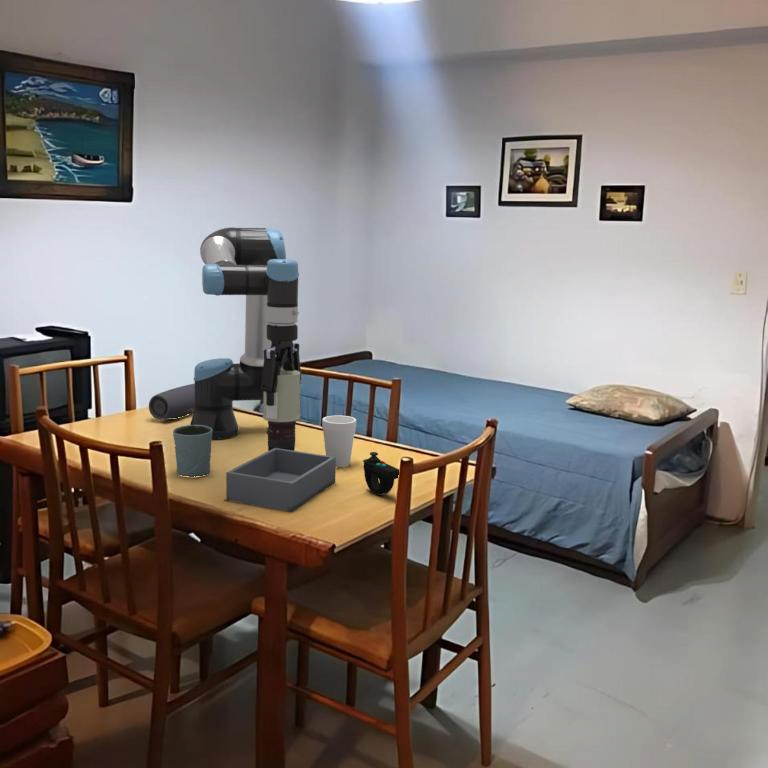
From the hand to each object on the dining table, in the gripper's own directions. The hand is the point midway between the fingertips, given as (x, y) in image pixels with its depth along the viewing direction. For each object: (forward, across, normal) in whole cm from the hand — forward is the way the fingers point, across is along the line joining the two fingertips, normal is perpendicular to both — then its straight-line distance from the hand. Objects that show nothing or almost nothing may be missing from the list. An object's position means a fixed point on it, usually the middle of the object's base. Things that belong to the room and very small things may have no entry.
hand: (281, 414), depth 203 cm
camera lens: (+20, +27, +15) cm, 37 cm away
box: (+20, 0, 0) cm, 20 cm away
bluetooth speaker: (+20, +52, +67) cm, 87 cm away
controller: (+20, +9, -24) cm, 32 cm away
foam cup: (+20, +27, -3) cm, 34 cm away
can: (+1, 0, 0) cm, 1 cm away
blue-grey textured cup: (+20, +2, +28) cm, 34 cm away
